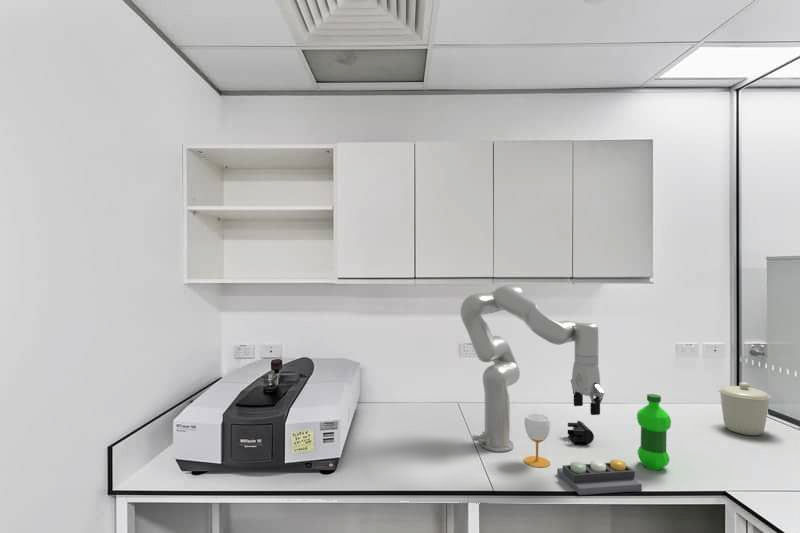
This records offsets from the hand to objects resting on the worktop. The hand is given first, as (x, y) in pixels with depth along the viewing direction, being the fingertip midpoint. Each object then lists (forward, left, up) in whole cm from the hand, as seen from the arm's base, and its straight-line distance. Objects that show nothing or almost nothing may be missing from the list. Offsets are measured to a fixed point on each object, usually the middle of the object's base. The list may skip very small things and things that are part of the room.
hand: (586, 410), depth 156 cm
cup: (-13, +10, -22) cm, 27 cm away
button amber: (+7, -7, -18) cm, 20 cm away
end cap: (+13, +26, -22) cm, 36 cm away
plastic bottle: (+26, +1, -22) cm, 34 cm away
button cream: (0, -7, -18) cm, 19 cm away
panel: (0, -7, -21) cm, 22 cm away
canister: (+89, +27, -22) cm, 96 cm away
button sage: (-7, -7, -18) cm, 20 cm away
